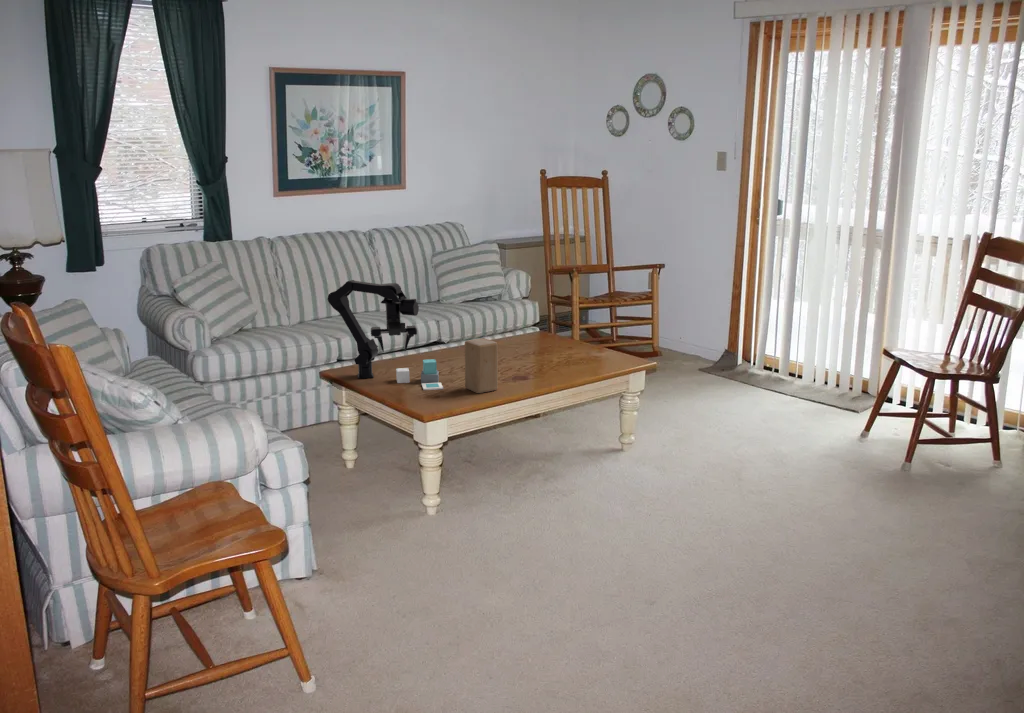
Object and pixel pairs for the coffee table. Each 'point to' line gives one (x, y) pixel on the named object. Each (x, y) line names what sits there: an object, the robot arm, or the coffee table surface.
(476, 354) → the wooden block
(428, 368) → the teal block
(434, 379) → the slate base block
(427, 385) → the tile
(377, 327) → the robot arm
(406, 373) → the white block
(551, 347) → the coffee table surface
